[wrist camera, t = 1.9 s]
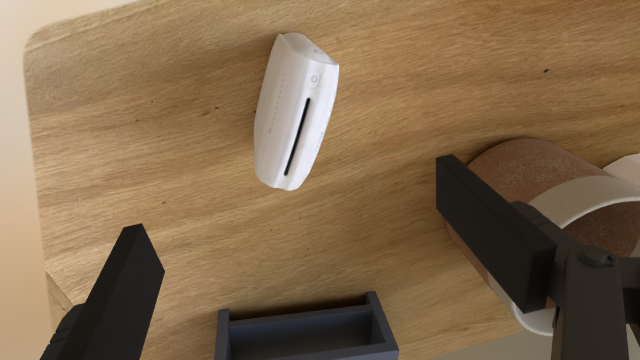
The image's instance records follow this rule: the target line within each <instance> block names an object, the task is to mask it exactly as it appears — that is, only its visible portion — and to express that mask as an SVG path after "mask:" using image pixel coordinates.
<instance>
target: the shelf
mask: <svg viewBox="0 0 640 360" xmlns="http://www.w3.org/2000/svg"><path fill="white" fill-rule="evenodd" d="M398 355H399V348H398V346H397V343H396V341H395V338H394V336H393V333H392V331H391V329H390V326H389V324H388V321H387V319H386V316H385V314H384V311H383V309H382V306H381V304H380V301H379V299H378V297H377V294H376V292H367V297H366V305H359V306H351V307H342V308H334V309H326V310H318V311H310V312H302V313H294V314H286V315H277V316H269V317H261V318H253V319H245V320H237V321H230V315H229V309H223V310H219V313H218V324H217V335H216V346H215V357H214V360H398Z"/></svg>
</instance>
